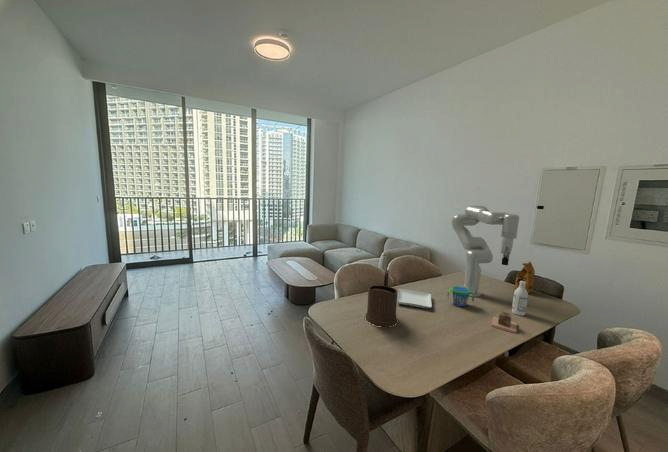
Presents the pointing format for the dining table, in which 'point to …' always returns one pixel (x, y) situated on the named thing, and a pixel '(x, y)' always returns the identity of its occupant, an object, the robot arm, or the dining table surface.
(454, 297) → the snack cup
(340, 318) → the dining table surface
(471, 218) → the robot arm
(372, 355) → the dining table surface
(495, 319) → the terracotta tile
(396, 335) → the dining table surface
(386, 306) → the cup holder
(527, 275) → the orange cat figurine
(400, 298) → the salad plate
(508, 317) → the walnut cube
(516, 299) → the bath foam
